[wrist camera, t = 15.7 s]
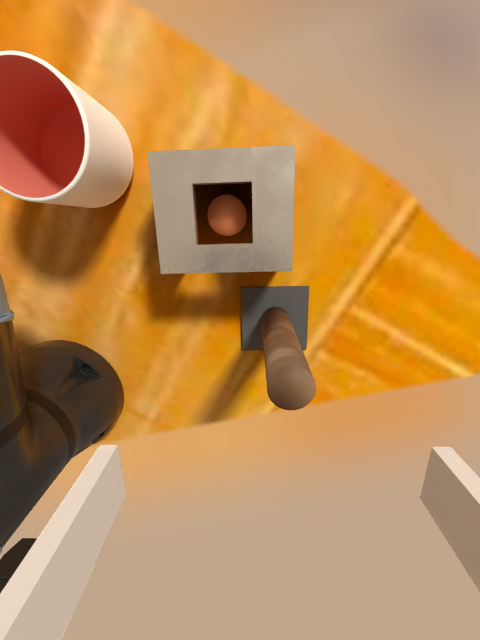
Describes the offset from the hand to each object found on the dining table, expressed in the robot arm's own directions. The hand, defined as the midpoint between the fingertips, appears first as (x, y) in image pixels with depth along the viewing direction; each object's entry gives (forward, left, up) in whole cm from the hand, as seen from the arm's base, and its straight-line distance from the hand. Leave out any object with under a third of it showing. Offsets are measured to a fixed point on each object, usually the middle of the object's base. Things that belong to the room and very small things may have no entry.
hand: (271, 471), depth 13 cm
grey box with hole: (-3, +11, -25) cm, 27 cm away
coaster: (+2, -1, -25) cm, 25 cm away
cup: (-18, +17, -25) cm, 35 cm away
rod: (+2, -1, -24) cm, 24 cm away
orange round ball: (-3, +11, -25) cm, 27 cm away
